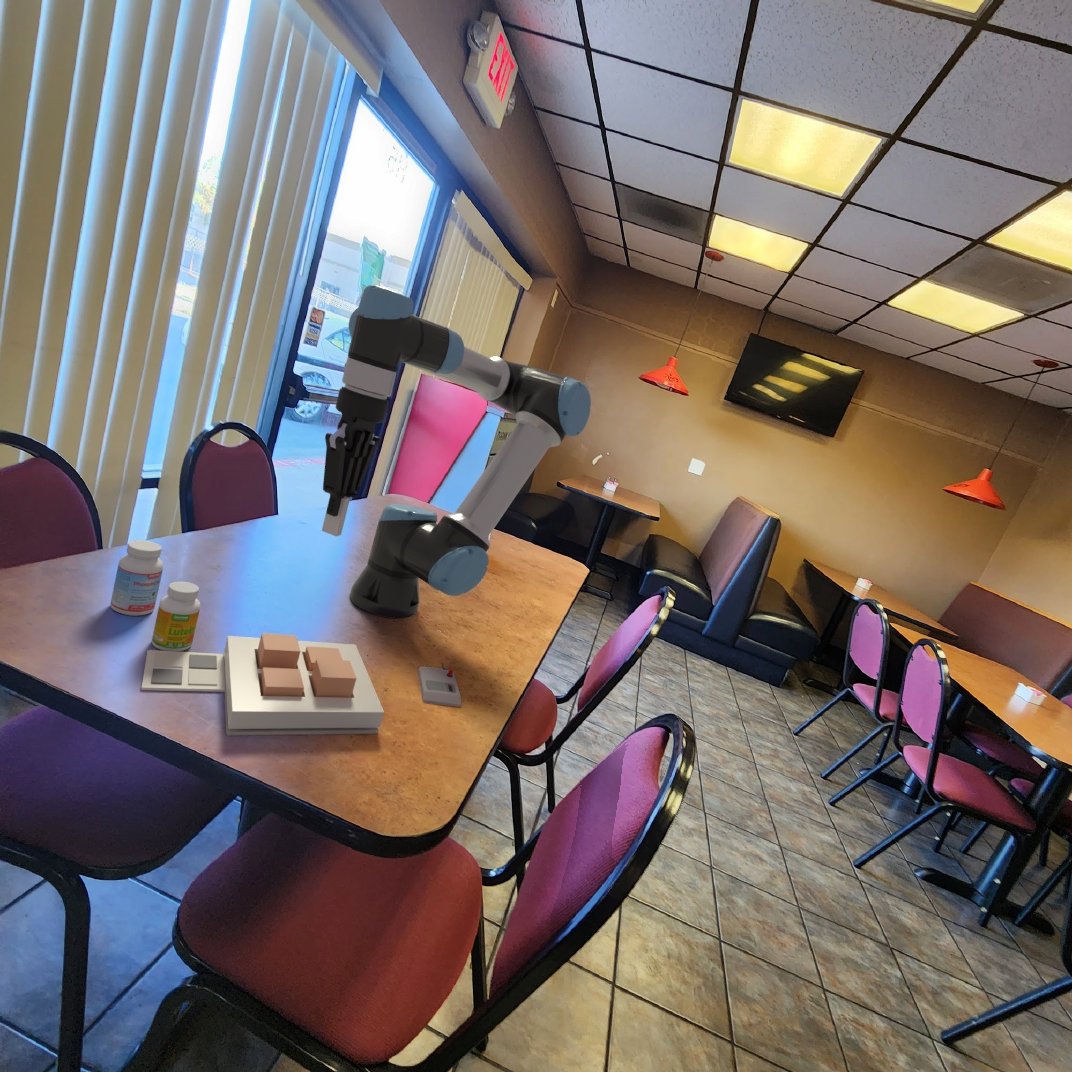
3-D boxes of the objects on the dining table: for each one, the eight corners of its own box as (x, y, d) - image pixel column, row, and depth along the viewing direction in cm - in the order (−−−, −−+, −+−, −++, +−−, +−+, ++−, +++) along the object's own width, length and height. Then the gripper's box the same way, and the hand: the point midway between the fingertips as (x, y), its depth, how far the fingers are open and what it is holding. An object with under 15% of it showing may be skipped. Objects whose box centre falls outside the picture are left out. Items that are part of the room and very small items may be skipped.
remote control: (423, 711, 96) (428, 695, 96) (414, 664, 111) (418, 650, 110) (461, 716, 99) (466, 700, 98) (448, 669, 113) (452, 655, 112)
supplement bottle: (162, 655, 86) (175, 596, 85) (144, 638, 89) (156, 580, 87) (198, 648, 91) (211, 592, 89) (180, 633, 94) (192, 578, 92)
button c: (344, 680, 90) (349, 660, 90) (350, 698, 86) (356, 678, 86) (310, 678, 88) (316, 659, 87) (315, 697, 84) (321, 677, 83)
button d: (333, 666, 96) (338, 648, 96) (338, 683, 92) (344, 664, 92) (301, 665, 94) (306, 646, 93) (305, 682, 90) (311, 662, 89)
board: (350, 662, 102) (355, 644, 101) (377, 733, 86) (384, 712, 85) (222, 656, 91) (227, 635, 91) (226, 735, 75) (232, 711, 74)
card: (222, 656, 91) (223, 652, 91) (224, 692, 83) (225, 688, 83) (147, 652, 86) (148, 648, 86) (141, 690, 78) (141, 686, 78)
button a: (293, 688, 87) (299, 668, 86) (298, 708, 83) (304, 687, 82) (257, 688, 84) (262, 667, 84) (260, 708, 80) (265, 686, 79)
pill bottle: (132, 620, 93) (145, 555, 90) (100, 606, 93) (112, 541, 91) (163, 610, 98) (176, 548, 96) (132, 597, 99) (144, 535, 97)
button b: (291, 654, 92) (296, 635, 92) (295, 671, 88) (300, 651, 87) (256, 652, 90) (261, 632, 89) (259, 669, 86) (264, 649, 85)
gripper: (365, 387, 97) (333, 519, 103) (320, 380, 85) (286, 531, 90) (405, 401, 96) (371, 534, 102) (366, 396, 84) (329, 548, 89)
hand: (331, 532), depth 96 cm, fingers closed
